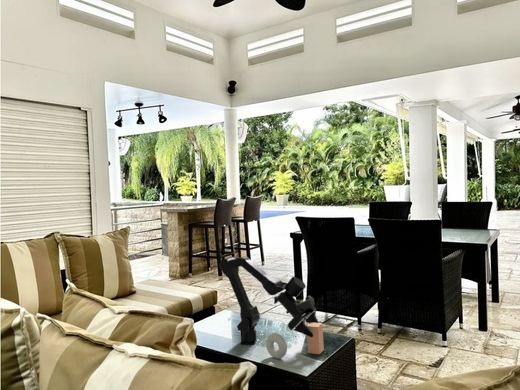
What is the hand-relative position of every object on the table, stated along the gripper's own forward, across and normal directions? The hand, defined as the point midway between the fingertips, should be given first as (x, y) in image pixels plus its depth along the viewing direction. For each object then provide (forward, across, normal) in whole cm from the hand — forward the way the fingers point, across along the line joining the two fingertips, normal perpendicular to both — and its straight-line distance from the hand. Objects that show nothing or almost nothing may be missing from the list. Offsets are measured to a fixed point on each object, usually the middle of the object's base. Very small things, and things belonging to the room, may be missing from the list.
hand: (316, 332), depth 165 cm
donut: (-4, -12, +15) cm, 19 cm away
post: (+5, 0, +6) cm, 8 cm away
